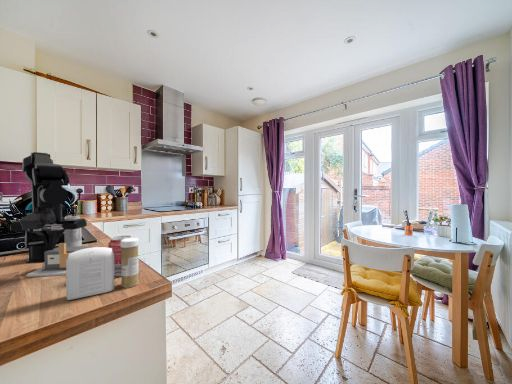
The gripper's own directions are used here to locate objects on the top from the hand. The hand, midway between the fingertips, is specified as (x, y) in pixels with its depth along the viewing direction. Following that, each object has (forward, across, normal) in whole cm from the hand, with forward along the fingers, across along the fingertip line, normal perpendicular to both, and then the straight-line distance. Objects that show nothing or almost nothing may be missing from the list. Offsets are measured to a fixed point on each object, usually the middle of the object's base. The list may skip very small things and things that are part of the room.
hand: (50, 250), depth 71 cm
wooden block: (+6, +5, 0) cm, 8 cm away
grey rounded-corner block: (+8, +22, -17) cm, 29 cm away
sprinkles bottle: (+8, +30, -13) cm, 33 cm away
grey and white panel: (+8, +4, +4) cm, 10 cm away
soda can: (+8, +23, -4) cm, 25 cm away
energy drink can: (+8, -12, +30) cm, 33 cm away
